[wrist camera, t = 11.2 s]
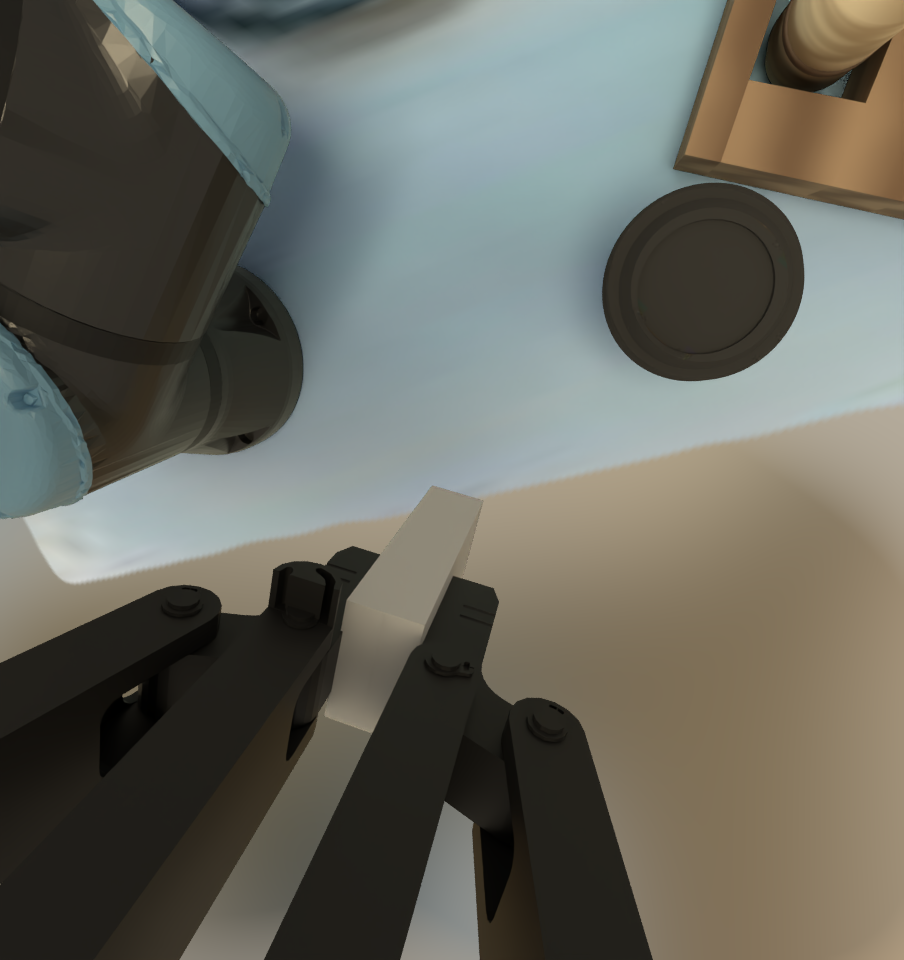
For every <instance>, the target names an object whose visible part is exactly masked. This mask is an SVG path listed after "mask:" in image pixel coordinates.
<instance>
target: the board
mask: <svg viewBox="0 0 904 960" xmlns="http://www.w3.org/2000/svg"><path fill="white" fill-rule="evenodd" d="M775 3H776V0H727V3H726V6H725V9H724V12H723V15H722V18H721V22H720V25H719V28H718V31H717V34H716V37H715V40H714V43H713V46H712V50H711V53H710V56H709V59H708V62H707V65H706V68H705V71H704V75H703V78H702V81H701V84H700V87H699V90H698V93H697V96H696V100H695V103H694V106H693V109H692V112H691V115H690V118H689V121H688V124H687V128H686V131H685V134H684V137H683V140H682V143H681V146H680V149H679V153H678V156H677V159H676V162H675V165H674V168H673V169H675V170H680V171H684V172H689V173H694V174H698V175H703V176H707V177H712V178H716V179H721V180H726V181H730V182H735V183H739V184H744V185H748V186H753V187H758V188H762V189H767V190H771V191H776V192H780V193H785V194H790V195H794V196H799V197H803V198H808V199H812V200H817V201H822V202H826V203H831V204H835V205H840V206H844V207H849V208H854V209H858V210H863V211H867V212H872V213H876V214H881V215H886V216H890V217H895V218H899V219H904V29H903V30H901V31H900V32H899V33H897V34H896V35H895V36H894V37H892V38H891V39H890V40H889V41H887V42H886V43H885V44H884V45H882V46H881V47H880V48H878V49H877V50H876V51H875V52H874V53H873V54H872V55H871V56H870V57H869V58H867V59H866V60H865V61H864V62H862V63H861V64H859V65H858V66H857V67H855V68H853V69H852V72H851V74H850V77H849V80H848V82H847V85H846V87H845V90H844V92H843V95H842V97H841V98H837V97H832V96H827V95H822V94H817V93H812V92H807V91H802V90H797V89H792V88H787V87H782V86H777V85H772V84H767V83H762V82H757V81H752V80H749V79H750V76H751V73H752V70H753V67H754V64H755V61H756V58H757V55H758V53H759V50H760V47H761V44H762V41H763V38H764V35H765V32H766V29H767V26H768V23H769V21H770V18H771V15H772V12H773V9H774V6H775Z"/></svg>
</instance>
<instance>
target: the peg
mask: <svg viewBox="0 0 904 960" xmlns="http://www.w3.org/2000/svg"><path fill="white" fill-rule="evenodd" d="M903 29H904V0H791V1H790V3H789V4H788V5H787V7H786V8H785V9H784V11H783V12H782V13H781V15H780V16H779V18H778V19H777V21H776V23H775V24H774V26H773V28H772V31H771V33H770V37H769V40H768V46H767V52H766V58H765V67H766V72H767V75H768V78H769V80H770V81H771V83H772V84H773V85H777V86H782V87H787V88H792V89H797V90H802V91H807V92H815V91H818V90H821V89H824V88H826V87H828V86H830V85H832V84H833V83H835V82H836V81H838V80H839V79H840V78H842V77H843V76H844V75H845V74H847V73H848V72H849V71H850V70H852V69H853V68H855V67H857V66H858V65H859V64H861V63H862V62H864V61H865V60H866V59H867V58H869V57H870V56H871V55H872V54H873V53H874V52H875V51H876V50H877V49H878V48H880V47H881V46H882V45H884V44H885V43H886V42H887V41H889V40H890V39H891V38H892V37H894V36H895V35H896V34H897V33H899V32H900V31H901V30H903Z"/></svg>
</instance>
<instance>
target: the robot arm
mask: <svg viewBox="0 0 904 960" xmlns="http://www.w3.org/2000/svg"><path fill="white" fill-rule="evenodd" d="M290 137H291V122H290V117H289V113H288V111H287V108H286V106H285V104H284V102H283V100H282V99H281V97H280V96H279V95H278V93H277V92H276V91H275V90H274V89H273V88H272V87H271V86H270V85H269V84H268V83H267V82H266V81H265V80H264V79H262V78H261V77H260V76H259V75H258V74H257V73H256V72H255V71H254V70H252V69H251V68H250V67H249V66H248V65H247V64H246V63H244V62H243V61H242V60H241V59H240V58H239V57H238V56H237V55H235V54H234V53H233V52H232V51H231V50H230V49H229V48H227V47H226V46H225V45H224V44H223V43H222V42H221V41H219V40H218V39H217V38H216V37H215V36H214V35H212V34H211V33H210V32H209V31H208V30H207V29H206V28H204V27H203V26H202V25H201V24H200V23H199V22H197V21H196V20H195V19H194V18H193V17H192V16H190V15H189V14H188V13H187V12H186V11H185V10H183V9H182V8H181V7H180V6H179V5H178V4H176V3H175V2H174V1H173V0H0V519H5V518H12V519H13V518H19V517H26V516H31V515H34V514H37V513H40V512H43V511H46V510H49V509H53V508H56V507H59V506H68V505H71V504H74V503H76V502H78V501H79V500H81V499H83V496H85V495H87V494H89V493H91V492H93V491H96V490H98V489H100V488H103V487H105V486H107V485H109V484H112V483H114V482H116V481H118V480H121V479H123V478H125V477H128V476H130V475H132V474H134V473H137V472H139V471H141V470H143V469H146V468H148V467H150V466H153V465H155V464H157V463H159V462H162V461H164V460H166V459H169V458H171V457H173V456H175V455H177V454H180V453H189V454H207V455H224V454H230V453H235V452H239V451H242V450H245V449H247V448H250V447H252V446H254V445H256V444H258V443H260V442H262V441H264V440H266V439H267V438H269V437H270V436H272V435H273V434H274V433H276V432H277V431H278V430H279V429H280V428H281V427H282V426H283V425H284V423H285V422H286V421H287V419H288V418H289V416H290V415H291V413H292V411H293V409H294V408H295V405H296V403H297V400H298V397H299V394H300V390H301V385H302V377H303V360H302V351H301V346H300V342H299V338H298V335H297V332H296V329H295V326H294V324H293V322H292V320H291V317H290V316H289V314H288V312H287V310H286V309H285V307H284V305H283V304H282V302H281V301H280V300H279V298H278V297H277V296H276V295H275V293H274V292H273V291H272V290H271V289H270V288H269V287H268V286H267V285H266V284H265V283H264V282H263V281H261V280H260V279H259V278H258V277H256V276H255V275H253V274H252V273H251V272H249V271H247V270H245V269H244V268H242V267H240V266H238V265H237V264H238V262H239V260H240V258H241V256H242V253H243V251H244V249H245V247H246V245H247V243H248V241H249V238H250V236H251V234H252V232H253V230H254V228H255V226H256V224H257V221H258V219H259V217H260V215H261V213H262V211H263V209H264V206H266V207H268V206H269V204H270V202H271V196H270V190H271V188H272V185H273V183H274V180H275V178H276V175H277V173H278V170H279V168H280V165H281V163H282V160H283V158H284V155H285V153H286V150H287V148H288V145H289V142H290ZM482 504H483V500H480V499H476V498H473V497H469V496H466V495H463V494H459V493H456V492H452V491H449V490H446V489H442V488H439V487H435V486H432V487H431V488H430V489H429V491H428V492H427V493H426V495H425V496H424V497H423V499H422V500H421V501H420V503H419V504H418V505H417V507H416V508H415V509H414V511H413V512H412V513H411V515H410V516H409V517H408V519H407V520H406V521H405V523H404V524H403V525H402V527H401V528H400V529H399V531H398V532H397V533H396V535H395V536H394V537H393V539H392V540H391V541H390V543H389V544H388V545H387V547H386V548H385V549H384V551H383V552H382V554H381V555H380V554H377V553H373V552H370V551H367V550H364V549H361V548H358V547H354V546H352V547H350V548H347V549H344V550H342V551H340V552H337V553H336V554H335V555H334V556H333V557H332V558H331V559H330V560H329V561H328V563H327V565H325V566H324V565H322V564H318V563H313V562H305V561H303V562H302V561H301V562H299V561H296V562H295V561H294V562H290V563H285V564H282V565H280V566H278V567H277V568H275V569H273V576H272V583H271V591H270V598H269V605H268V608H266V609H265V611H264V612H263V613H262V614H261V615H257V616H251V615H237V614H228V613H221V607H222V605H221V602H220V599H219V597H217V595H215V594H214V593H213V592H212V591H210V590H207V589H204V588H201V587H197V586H191V585H180V586H170V587H166V588H163V589H160V590H157V591H155V592H153V593H151V594H148V595H146V596H144V597H142V598H140V599H137V600H135V601H133V602H131V603H129V604H127V605H125V606H123V607H120V608H118V609H116V610H114V611H112V612H110V613H107V614H105V615H103V616H101V617H99V618H96V619H94V620H92V621H90V622H88V623H86V624H84V625H81V626H79V627H77V628H75V629H73V630H71V631H68V632H66V633H64V634H62V635H60V636H58V637H55V638H53V639H51V640H49V641H47V642H45V643H42V644H40V645H38V646H36V647H34V648H32V649H30V650H27V651H25V652H23V653H21V654H19V655H17V656H15V657H12V658H10V659H8V660H6V661H4V662H1V663H0V960H179V959H180V958H181V956H182V954H183V953H184V951H185V949H186V948H187V946H188V944H189V943H190V941H191V939H192V938H193V936H194V934H195V933H196V930H197V929H198V927H199V926H200V924H201V922H202V921H203V919H204V917H205V916H206V914H207V912H208V911H209V909H210V907H211V906H212V904H213V902H214V901H215V899H216V897H217V896H218V894H219V892H220V891H221V889H222V887H223V885H224V884H225V882H226V880H227V879H228V877H229V875H230V874H231V872H232V870H233V869H234V867H235V865H236V864H237V862H238V860H239V859H240V857H241V855H242V854H243V852H244V850H245V849H246V847H247V845H248V844H249V842H250V840H251V839H252V837H253V835H254V834H255V832H256V830H257V828H258V827H259V825H260V823H261V822H262V820H263V818H264V817H265V815H266V813H267V811H268V810H269V808H270V807H271V805H272V803H273V802H274V800H275V798H276V797H277V795H278V793H279V791H280V790H281V788H282V787H283V785H284V783H285V782H286V780H287V778H288V776H289V775H290V773H291V771H292V770H293V768H294V766H295V765H296V763H297V761H298V759H299V758H300V756H301V755H302V753H303V751H304V750H305V748H306V746H307V745H308V743H309V741H310V740H311V738H312V736H313V734H314V730H315V727H316V722H317V717H318V712H319V711H320V709H321V707H322V706H323V704H324V702H325V701H326V699H327V698H328V699H327V705H326V710H325V715H324V716H325V717H327V718H330V719H333V720H336V721H339V722H342V723H345V724H347V725H350V726H353V727H356V728H359V729H362V730H364V731H368V732H370V733H372V735H371V737H370V739H369V741H368V743H367V745H366V747H365V749H364V752H363V754H362V756H361V758H360V760H359V762H358V764H357V766H356V768H355V770H354V772H353V775H352V777H351V779H350V781H349V783H348V785H347V787H346V789H345V791H344V793H343V796H342V798H341V800H340V802H339V804H338V806H337V808H336V810H335V812H334V815H333V816H332V819H331V821H330V823H329V825H328V827H327V829H326V831H325V833H324V835H323V837H322V840H321V841H320V844H319V846H318V848H317V850H316V852H315V854H314V856H313V858H312V861H311V863H310V865H309V867H308V869H307V871H306V873H305V875H304V877H303V879H302V881H301V884H300V885H299V888H298V890H297V892H296V894H295V896H294V898H293V900H292V902H291V904H290V906H289V908H288V911H287V913H286V915H285V917H284V919H283V921H282V923H281V925H280V927H279V930H278V931H277V934H276V936H275V938H274V940H273V942H272V944H271V946H270V948H269V950H268V953H267V954H266V957H265V959H264V960H400V958H401V955H402V951H403V948H404V944H405V940H406V937H407V933H408V930H409V926H410V923H411V919H412V915H413V912H414V908H415V905H416V901H417V897H418V894H419V890H420V887H421V883H422V879H423V876H424V872H425V868H426V865H427V861H428V857H429V854H430V851H431V847H432V844H433V840H434V836H435V832H436V829H437V826H438V822H439V818H440V815H441V811H442V807H443V804H444V801H445V802H447V803H448V804H450V805H451V806H452V807H454V808H455V809H456V810H458V811H459V812H461V813H462V814H463V815H465V816H466V817H468V818H469V819H470V820H472V821H473V822H474V824H473V829H472V836H473V853H474V867H475V868H474V869H475V886H476V903H477V920H478V937H479V953H480V960H653V959H652V955H651V952H650V949H649V946H648V942H647V939H646V936H645V932H644V929H643V925H642V922H641V919H640V915H639V912H638V909H637V905H636V902H635V899H634V895H633V892H632V889H631V886H630V882H629V879H628V875H627V872H626V869H625V865H624V862H623V859H622V855H621V852H620V849H619V845H618V842H617V839H616V836H615V832H614V829H613V825H612V822H611V819H610V816H609V812H608V809H607V805H606V802H605V799H604V795H603V792H602V789H601V785H600V782H599V779H598V775H597V772H596V769H595V765H594V762H593V759H592V755H591V752H590V749H589V745H588V742H587V739H586V735H585V732H584V730H583V728H582V726H581V724H580V722H579V720H578V719H577V718H575V716H574V715H573V714H571V713H570V712H569V711H568V710H567V709H565V708H564V707H562V706H560V705H558V704H557V703H555V702H552V701H549V700H545V699H542V698H526V699H523V700H520V701H517V702H516V703H515V704H514V705H511V704H510V703H508V702H506V701H505V700H503V699H502V698H501V697H499V696H498V695H496V694H495V693H494V692H493V691H492V690H491V689H490V688H489V687H488V685H487V684H486V682H485V680H484V679H483V675H482V672H481V668H482V662H483V658H484V655H485V651H486V647H487V643H488V640H489V636H490V633H491V629H492V626H493V622H494V618H495V615H496V611H497V607H498V604H499V601H498V599H497V596H496V593H495V591H494V588H491V587H487V586H484V585H481V584H478V583H475V582H471V581H468V580H465V579H463V575H464V571H465V567H466V563H467V560H468V556H469V552H470V549H471V545H472V541H473V537H474V534H475V530H476V526H477V522H478V519H479V515H480V511H481V507H482ZM137 685H138V691H136V692H135V693H133V694H132V695H130V696H127V697H124V698H123V697H122V695H123V694H124V693H126V692H127V691H129V690H131V689H132V688H134V687H136V686H137Z"/></svg>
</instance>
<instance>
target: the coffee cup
mask: <svg viewBox="0 0 904 960" xmlns="http://www.w3.org/2000/svg"><path fill="white" fill-rule="evenodd" d="M803 288H804V264H803V255H802V250H801V246H800V243H799V240H798V237H797V235H796V232H795V230H794V228H793V226H792V225H791V223H790V221H789V220H788V219H787V217H786V216H785V215H784V213H783V212H782V211H781V210H780V209H779V208H778V207H777V206H776V205H775V204H774V203H772V202H771V201H770V200H768V199H767V198H765V197H764V196H762V195H761V194H759V193H757V192H755V191H753V190H750V189H748V188H745V187H741V186H738V185H733V184H726V183H703V184H697V185H692V186H688V187H684V188H681V189H678V190H675V191H673V192H671V193H669V194H666V195H664V196H663V197H661V198H659V199H657V200H656V201H654V202H653V203H651V204H650V205H649V206H647V207H646V208H645V209H643V210H642V211H641V212H640V213H639V214H638V215H637V216H636V217H635V218H634V219H633V220H632V221H631V222H630V223H629V224H628V226H627V227H626V228H625V229H624V231H623V232H622V234H621V235H620V237H619V238H618V240H617V242H616V243H615V245H614V247H613V249H612V251H611V254H610V256H609V259H608V262H607V265H606V269H605V273H604V278H603V287H602V300H603V309H604V314H605V318H606V321H607V324H608V327H609V329H610V332H611V334H612V336H613V338H614V339H615V341H616V342H617V344H618V345H619V347H620V348H621V349H622V351H623V352H624V353H625V354H626V355H627V356H628V357H629V358H630V359H631V360H633V361H634V362H635V363H636V364H638V365H639V366H641V367H642V368H644V369H646V370H647V371H649V372H651V373H653V374H656V375H658V376H661V377H665V378H669V379H673V380H679V381H703V380H710V379H717V378H722V377H726V376H729V375H732V374H735V373H737V372H740V371H742V370H744V369H746V368H748V367H750V366H752V365H753V364H755V363H756V362H758V361H759V360H761V359H762V358H763V357H765V356H766V355H767V354H768V353H769V352H770V351H772V350H773V349H774V348H775V347H776V345H777V344H778V343H779V342H780V341H781V340H782V338H783V337H784V336H785V334H786V333H787V331H788V330H789V328H790V326H791V325H792V323H793V321H794V319H795V317H796V314H797V312H798V309H799V306H800V303H801V299H802V295H803Z"/></svg>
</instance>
